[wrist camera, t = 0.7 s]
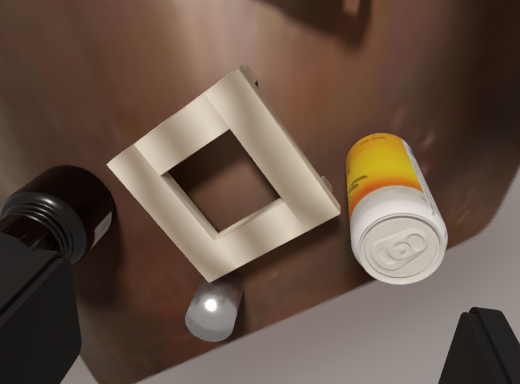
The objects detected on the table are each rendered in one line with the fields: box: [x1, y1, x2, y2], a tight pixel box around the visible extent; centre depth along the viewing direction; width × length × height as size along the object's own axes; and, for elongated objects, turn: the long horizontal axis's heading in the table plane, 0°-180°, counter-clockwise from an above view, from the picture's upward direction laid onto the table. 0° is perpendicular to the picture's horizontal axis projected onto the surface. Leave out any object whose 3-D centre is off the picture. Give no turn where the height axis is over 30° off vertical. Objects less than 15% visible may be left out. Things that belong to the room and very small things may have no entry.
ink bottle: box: [0, 165, 114, 282], centre depth 43 cm, size 10×9×12 cm
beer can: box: [346, 133, 448, 285], centre depth 35 cm, size 6×6×15 cm
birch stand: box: [107, 65, 340, 283], centre depth 42 cm, size 15×15×5 cm
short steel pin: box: [185, 271, 244, 342], centre depth 48 cm, size 5×5×6 cm
